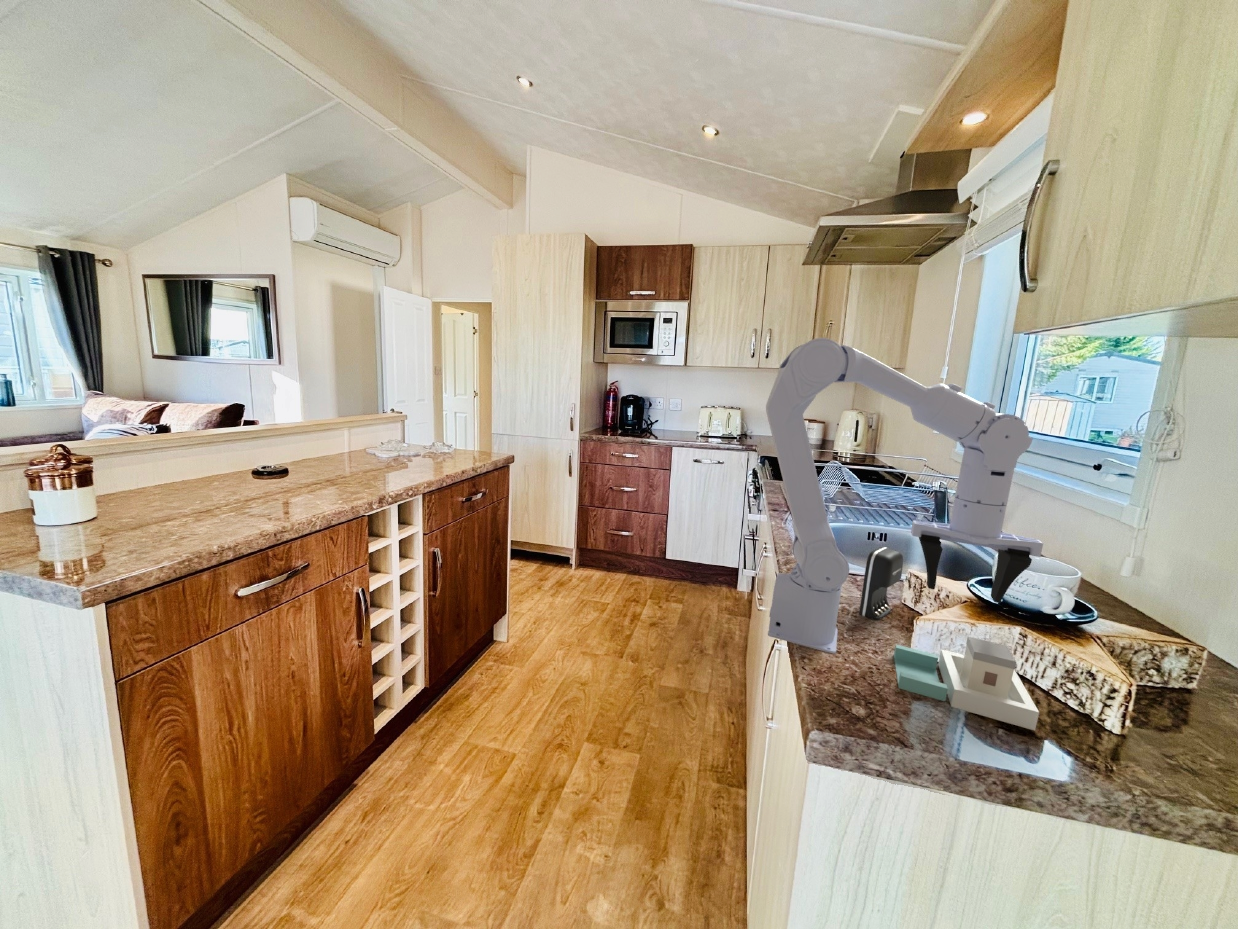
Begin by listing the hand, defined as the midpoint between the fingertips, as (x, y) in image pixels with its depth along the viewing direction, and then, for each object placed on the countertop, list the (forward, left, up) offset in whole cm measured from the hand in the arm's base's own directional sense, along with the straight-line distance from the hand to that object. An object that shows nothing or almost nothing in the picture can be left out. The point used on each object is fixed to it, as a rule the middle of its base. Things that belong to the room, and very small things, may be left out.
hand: (962, 593), depth 67 cm
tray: (+2, -9, -10) cm, 14 cm away
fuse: (+2, -9, -9) cm, 13 cm away
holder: (-5, -9, -10) cm, 14 cm away
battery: (-9, +9, -10) cm, 16 cm away
